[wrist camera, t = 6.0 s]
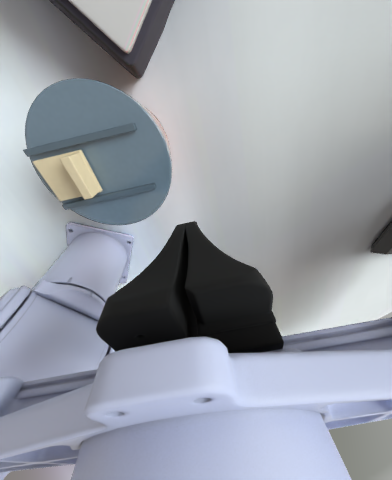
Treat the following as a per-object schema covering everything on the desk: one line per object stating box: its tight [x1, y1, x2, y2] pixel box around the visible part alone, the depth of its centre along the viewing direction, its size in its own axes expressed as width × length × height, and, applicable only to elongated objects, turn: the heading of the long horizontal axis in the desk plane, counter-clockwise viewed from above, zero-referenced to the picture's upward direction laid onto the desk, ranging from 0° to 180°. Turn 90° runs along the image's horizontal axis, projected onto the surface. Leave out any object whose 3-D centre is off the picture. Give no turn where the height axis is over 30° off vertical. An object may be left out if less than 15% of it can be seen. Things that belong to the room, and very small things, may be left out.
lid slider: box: [33, 150, 102, 201], centre depth 11 cm, size 3×3×2 cm
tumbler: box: [23, 78, 172, 225], centre depth 15 cm, size 9×9×7 cm
